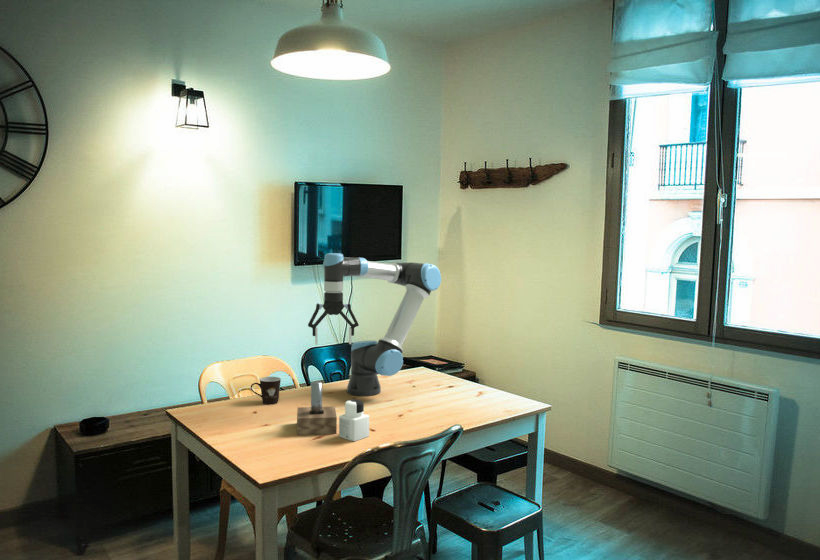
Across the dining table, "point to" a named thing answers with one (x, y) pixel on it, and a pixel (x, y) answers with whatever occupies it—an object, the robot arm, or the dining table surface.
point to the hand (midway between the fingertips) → (333, 344)
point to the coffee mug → (269, 389)
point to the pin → (316, 397)
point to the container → (354, 421)
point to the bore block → (316, 421)
